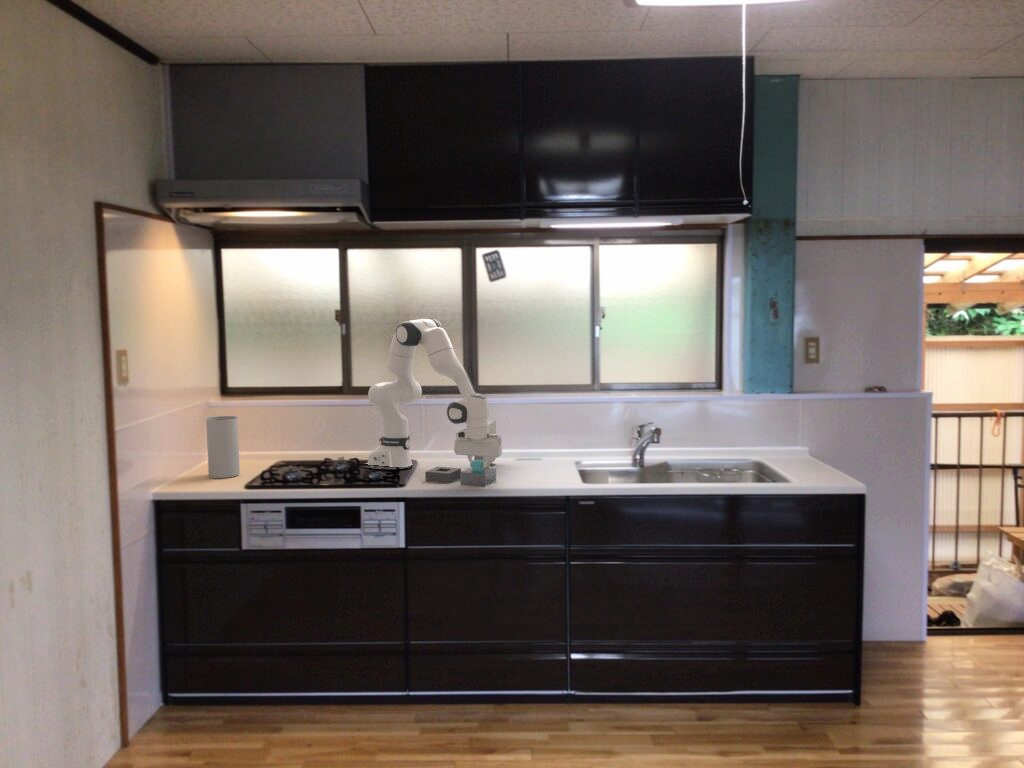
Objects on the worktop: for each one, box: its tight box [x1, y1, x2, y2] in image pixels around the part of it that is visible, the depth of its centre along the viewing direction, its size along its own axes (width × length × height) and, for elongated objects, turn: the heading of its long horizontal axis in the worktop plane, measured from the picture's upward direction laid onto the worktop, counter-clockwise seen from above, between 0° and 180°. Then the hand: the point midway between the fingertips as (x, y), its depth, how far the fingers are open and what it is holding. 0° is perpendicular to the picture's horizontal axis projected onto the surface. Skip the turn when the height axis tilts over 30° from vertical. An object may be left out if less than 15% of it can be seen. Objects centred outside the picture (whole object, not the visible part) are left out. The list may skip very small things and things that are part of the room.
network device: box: [473, 420, 499, 469], centre depth 341 cm, size 26×9×20 cm, turn 168°
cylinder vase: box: [205, 415, 241, 479], centre depth 328 cm, size 12×12×25 cm
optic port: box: [459, 466, 497, 487], centre depth 315 cm, size 11×11×5 cm
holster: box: [424, 466, 462, 484], centre depth 321 cm, size 11×11×4 cm
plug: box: [471, 459, 484, 472], centre depth 314 cm, size 4×4×8 cm
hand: (478, 466), depth 314 cm, fingers closed on plug, 3 cm apart
